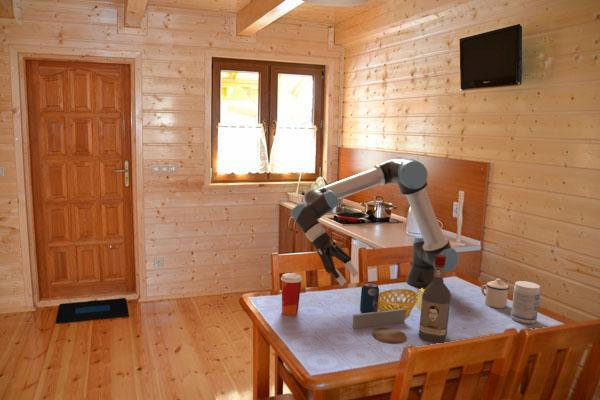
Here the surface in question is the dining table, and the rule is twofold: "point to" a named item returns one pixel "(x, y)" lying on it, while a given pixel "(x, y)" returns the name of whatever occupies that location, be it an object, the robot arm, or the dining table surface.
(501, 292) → the teacup with lid
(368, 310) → the soda can
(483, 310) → the dining table surface
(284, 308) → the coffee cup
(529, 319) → the supplement tub
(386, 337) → the walnut coaster
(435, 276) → the liquor
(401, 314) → the low wall
